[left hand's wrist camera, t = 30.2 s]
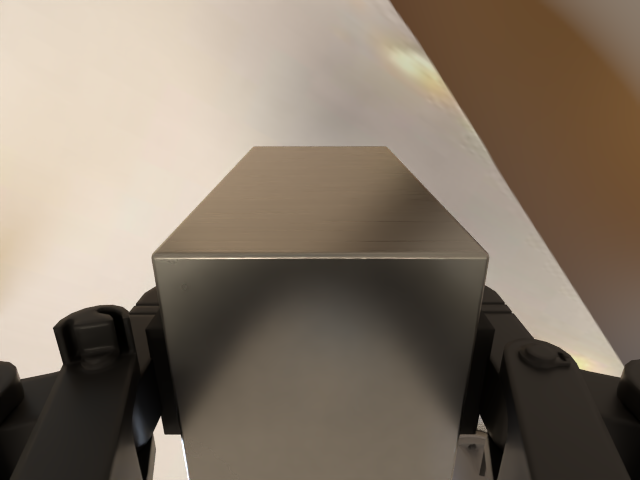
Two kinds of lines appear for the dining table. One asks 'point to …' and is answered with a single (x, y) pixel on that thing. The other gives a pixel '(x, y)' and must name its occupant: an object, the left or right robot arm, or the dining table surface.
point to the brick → (320, 320)
